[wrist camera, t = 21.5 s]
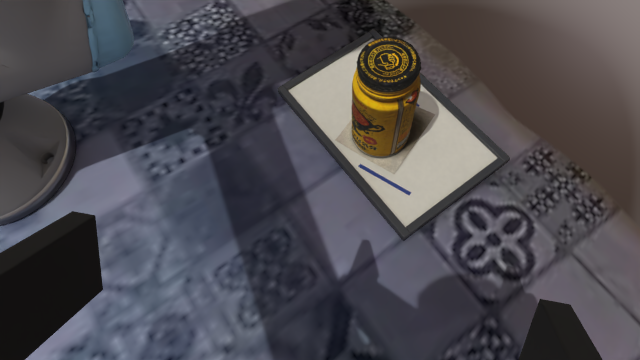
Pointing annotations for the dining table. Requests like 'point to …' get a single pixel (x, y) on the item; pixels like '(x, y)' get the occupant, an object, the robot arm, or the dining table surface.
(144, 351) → the dining table surface
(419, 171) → the whiteboard
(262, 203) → the dining table surface
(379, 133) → the condiment
